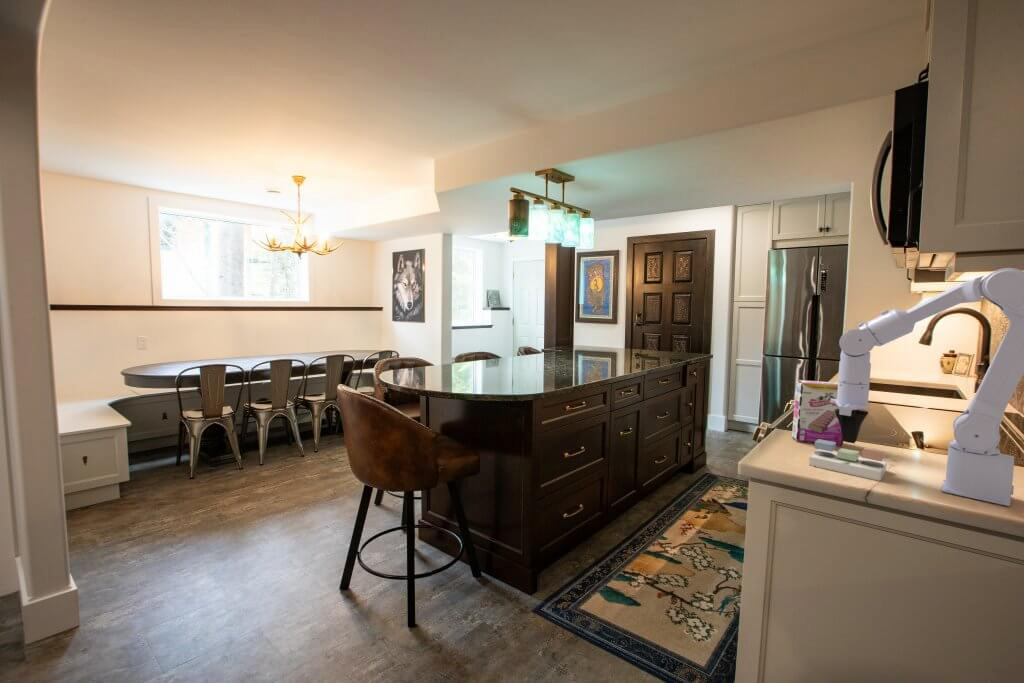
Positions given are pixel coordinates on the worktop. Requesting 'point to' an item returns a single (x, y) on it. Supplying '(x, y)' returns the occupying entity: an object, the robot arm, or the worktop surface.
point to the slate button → (825, 445)
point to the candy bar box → (816, 412)
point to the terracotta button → (873, 454)
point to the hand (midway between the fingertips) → (849, 441)
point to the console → (848, 465)
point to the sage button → (848, 454)
